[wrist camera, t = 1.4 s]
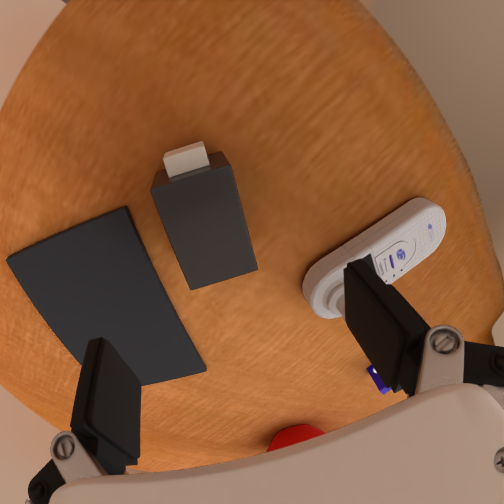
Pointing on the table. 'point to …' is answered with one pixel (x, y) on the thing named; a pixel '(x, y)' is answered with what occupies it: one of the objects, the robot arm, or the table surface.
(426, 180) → the table surface
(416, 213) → the electronic device
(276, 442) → the ceramic cup
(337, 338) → the table surface
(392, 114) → the table surface
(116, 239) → the desk mat
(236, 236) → the block
